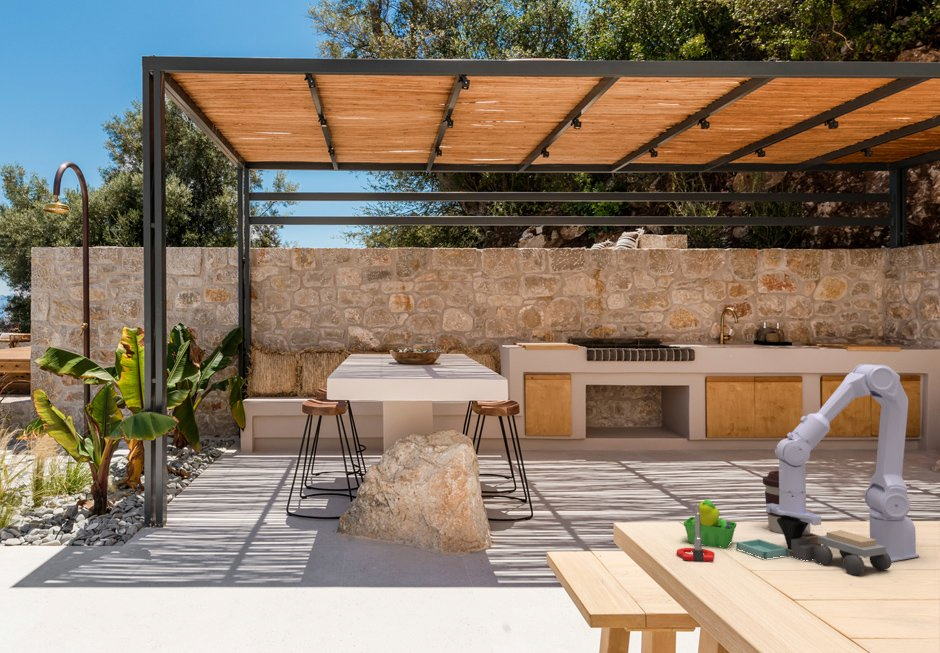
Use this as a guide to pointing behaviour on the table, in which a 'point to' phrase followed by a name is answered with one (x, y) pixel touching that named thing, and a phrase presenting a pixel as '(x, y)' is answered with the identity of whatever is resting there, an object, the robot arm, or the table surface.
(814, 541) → the pin socket
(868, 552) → the trolley
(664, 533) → the table surface
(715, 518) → the fruit basket
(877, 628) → the table surface
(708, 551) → the tow hook
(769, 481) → the coffee cup
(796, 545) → the block
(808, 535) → the pin
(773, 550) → the tray
